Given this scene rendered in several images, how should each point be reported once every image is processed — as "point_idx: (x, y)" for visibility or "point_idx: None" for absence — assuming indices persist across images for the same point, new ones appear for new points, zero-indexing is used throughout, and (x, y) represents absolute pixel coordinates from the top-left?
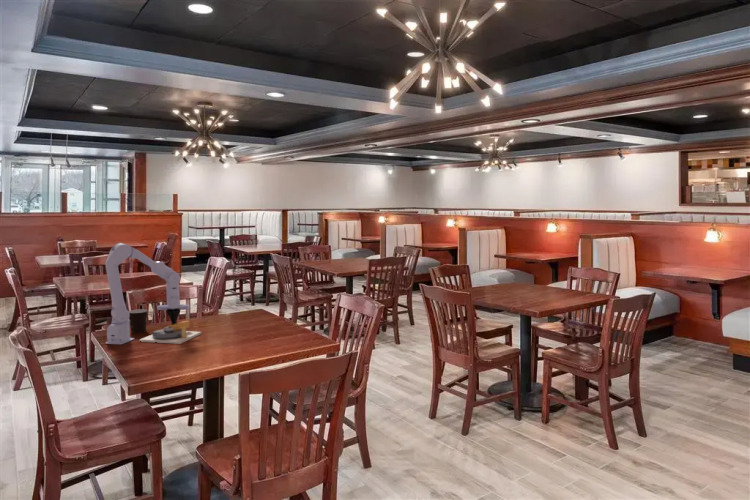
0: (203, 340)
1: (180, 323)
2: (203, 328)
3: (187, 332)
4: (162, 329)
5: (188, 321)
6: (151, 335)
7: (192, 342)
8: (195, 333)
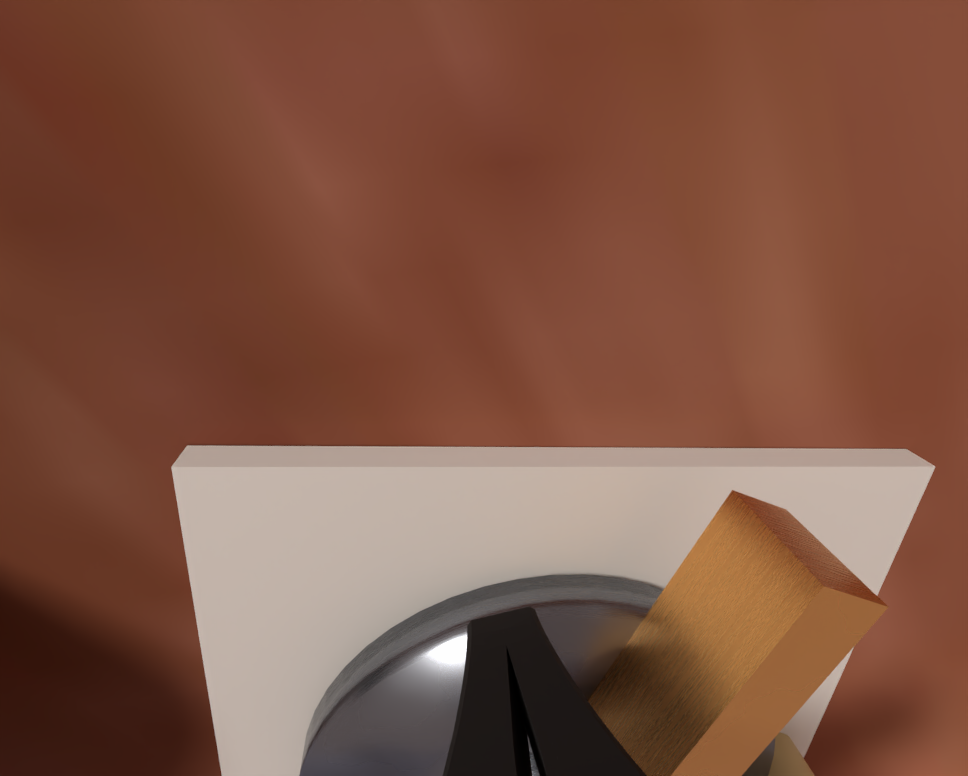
0: (964, 687)
1: (728, 772)
2: (894, 27)
3: None
4: (349, 735)
5: (862, 618)
6: (252, 768)
7: (858, 761)
8: (862, 563)
